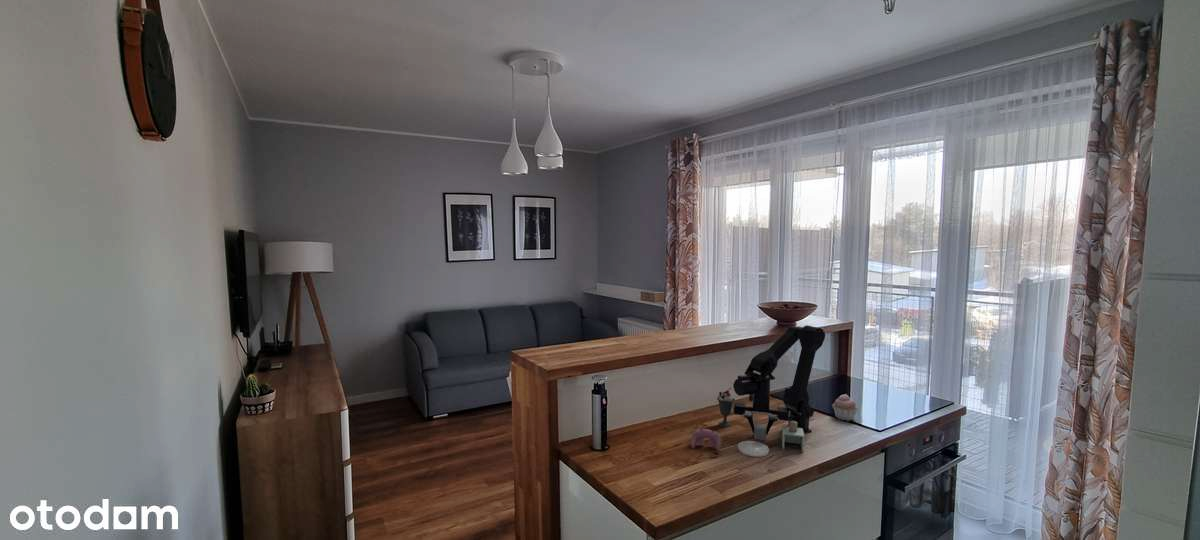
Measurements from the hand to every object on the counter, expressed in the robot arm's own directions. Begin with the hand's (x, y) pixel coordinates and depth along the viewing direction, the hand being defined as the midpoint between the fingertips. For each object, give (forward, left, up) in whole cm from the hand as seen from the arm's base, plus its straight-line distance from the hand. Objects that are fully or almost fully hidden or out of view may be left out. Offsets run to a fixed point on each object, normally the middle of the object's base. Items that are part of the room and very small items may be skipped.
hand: (760, 434), depth 171 cm
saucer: (+8, +9, -1) cm, 12 cm away
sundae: (+7, -13, -1) cm, 15 cm away
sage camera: (-7, +9, -1) cm, 11 cm away
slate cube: (0, 0, -1) cm, 1 cm away
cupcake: (-43, -9, -1) cm, 44 cm away
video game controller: (+23, +4, -1) cm, 23 cm away
